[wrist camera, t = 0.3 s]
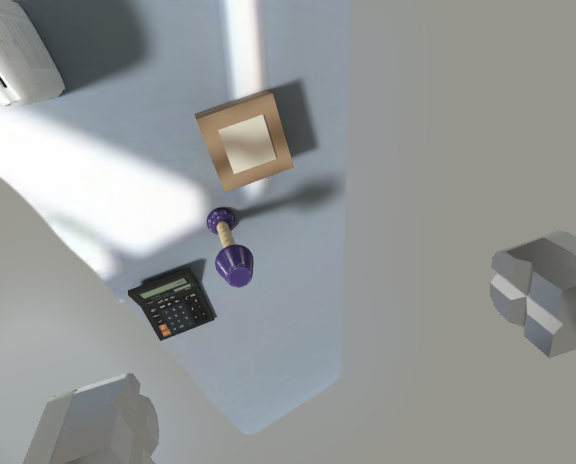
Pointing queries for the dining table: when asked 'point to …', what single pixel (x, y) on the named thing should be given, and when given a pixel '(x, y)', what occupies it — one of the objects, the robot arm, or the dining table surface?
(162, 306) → the calculator
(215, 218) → the toy lamp
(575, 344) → the robot arm
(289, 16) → the dining table surface
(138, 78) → the dining table surface
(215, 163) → the cardboard box
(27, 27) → the white upright block
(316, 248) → the dining table surface
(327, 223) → the dining table surface
